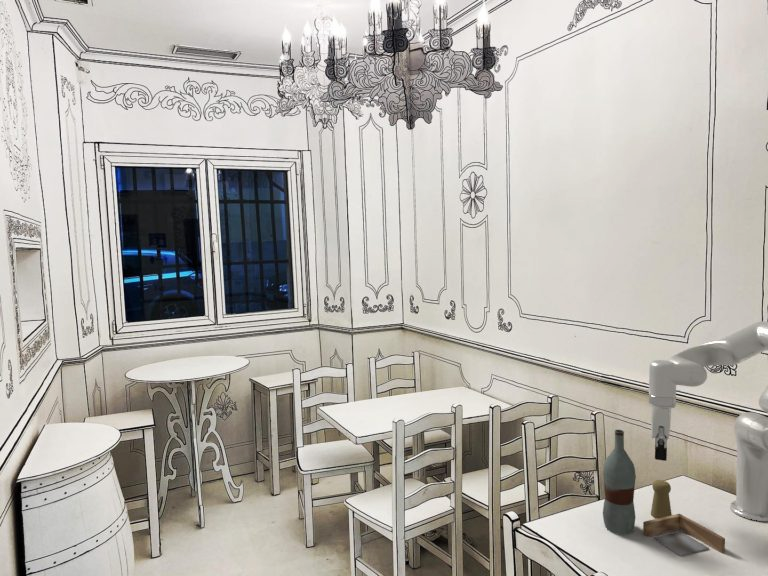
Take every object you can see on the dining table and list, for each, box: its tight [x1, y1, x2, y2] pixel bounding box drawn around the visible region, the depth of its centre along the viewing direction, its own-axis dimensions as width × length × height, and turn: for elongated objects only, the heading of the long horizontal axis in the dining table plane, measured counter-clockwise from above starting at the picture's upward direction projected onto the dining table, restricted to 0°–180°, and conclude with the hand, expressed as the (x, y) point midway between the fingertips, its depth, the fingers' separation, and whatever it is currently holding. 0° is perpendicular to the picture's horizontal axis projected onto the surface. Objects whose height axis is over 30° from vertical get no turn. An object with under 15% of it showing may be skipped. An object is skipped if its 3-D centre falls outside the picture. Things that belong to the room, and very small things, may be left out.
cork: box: [650, 479, 673, 519], centre depth 177 cm, size 6×6×11 cm
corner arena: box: [642, 513, 726, 557], centre depth 161 cm, size 14×15×4 cm
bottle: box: [602, 429, 637, 535], centre depth 169 cm, size 9×9×30 cm
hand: (660, 454), depth 176 cm, fingers open, 9 cm apart
